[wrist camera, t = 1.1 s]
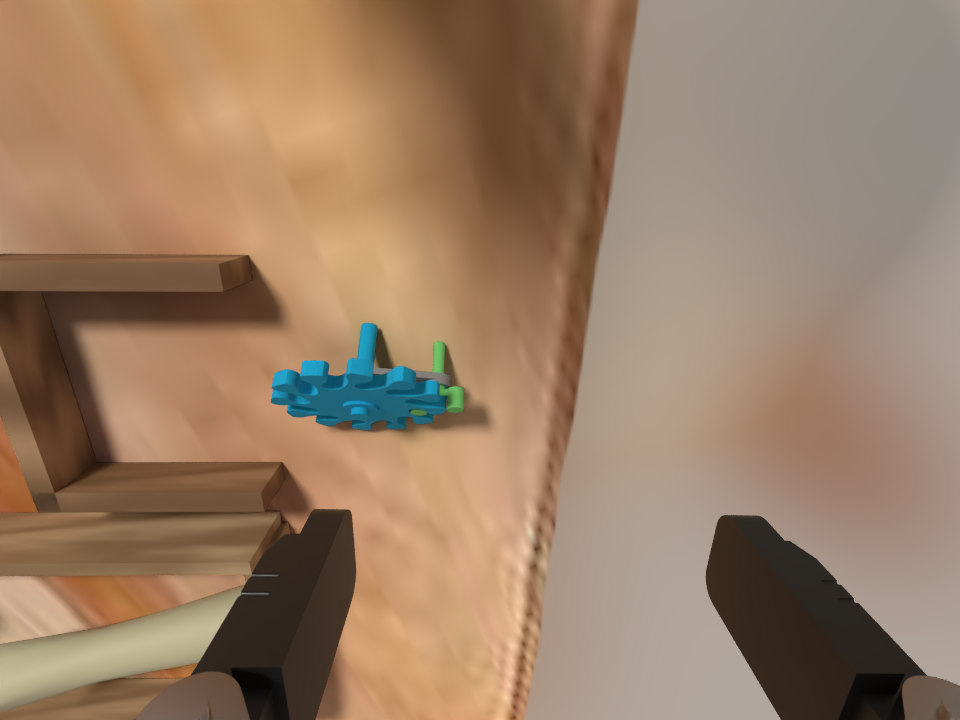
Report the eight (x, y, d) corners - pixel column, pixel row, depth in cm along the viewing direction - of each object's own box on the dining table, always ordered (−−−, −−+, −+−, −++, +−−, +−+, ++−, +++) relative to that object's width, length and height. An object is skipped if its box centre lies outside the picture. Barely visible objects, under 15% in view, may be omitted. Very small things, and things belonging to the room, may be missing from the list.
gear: (282, 434, 30) (247, 378, 22) (296, 352, 33) (270, 271, 24) (449, 442, 33) (480, 395, 24) (451, 365, 35) (479, 296, 26)
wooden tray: (-275, 513, 34) (-395, 566, 29) (286, 511, 35) (257, 562, 30) (-156, 690, 40) (-239, 756, 36) (315, 684, 41) (294, 748, 36)
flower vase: (282, 556, 45) (-163, 654, 38) (244, 476, 38) (-317, 579, 31) (270, 694, 36) (-316, 855, 29) (218, 624, 29) (-585, 817, 22)
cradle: (3, 253, 28) (-60, 262, 24) (248, 255, 28) (218, 264, 25) (80, 480, 33) (38, 512, 30) (284, 480, 34) (264, 511, 30)
